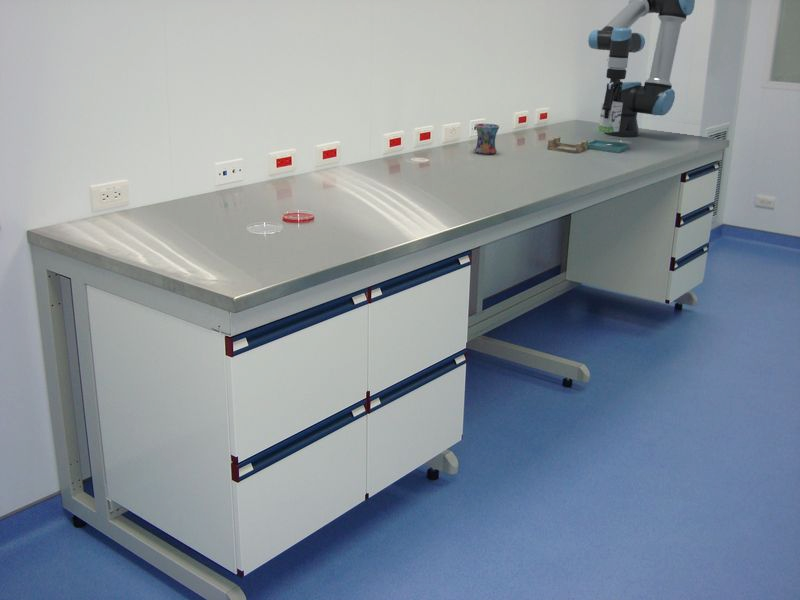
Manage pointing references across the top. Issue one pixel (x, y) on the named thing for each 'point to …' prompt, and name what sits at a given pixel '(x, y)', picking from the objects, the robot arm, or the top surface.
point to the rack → (556, 142)
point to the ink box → (612, 118)
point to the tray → (607, 146)
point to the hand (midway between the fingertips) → (609, 125)
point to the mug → (486, 138)
